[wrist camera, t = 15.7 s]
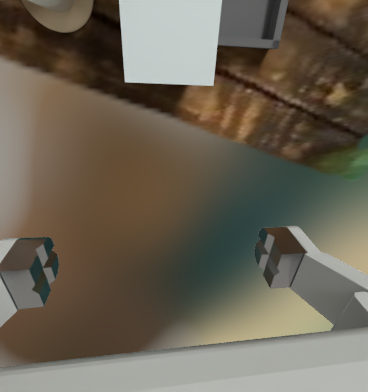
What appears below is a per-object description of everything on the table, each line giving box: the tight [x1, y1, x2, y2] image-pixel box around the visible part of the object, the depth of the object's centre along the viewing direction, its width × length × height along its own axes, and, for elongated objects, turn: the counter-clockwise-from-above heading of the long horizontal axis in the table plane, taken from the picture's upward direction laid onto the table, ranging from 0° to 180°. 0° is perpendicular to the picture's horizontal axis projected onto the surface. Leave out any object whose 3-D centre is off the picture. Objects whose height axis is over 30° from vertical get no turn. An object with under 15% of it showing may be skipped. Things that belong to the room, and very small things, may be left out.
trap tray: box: [217, 0, 288, 49], centre depth 32 cm, size 10×10×3 cm
